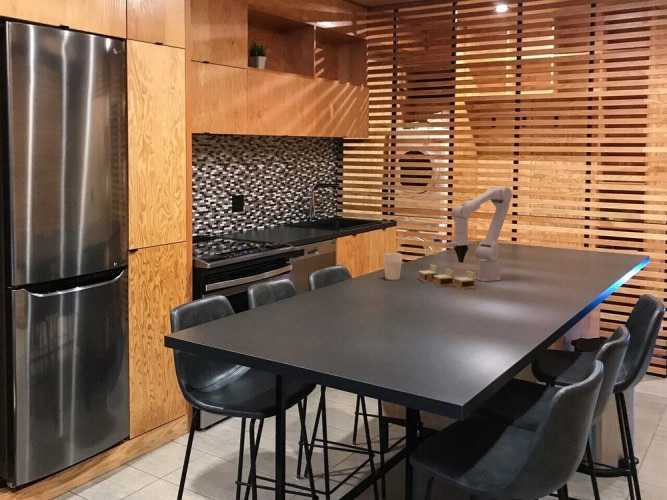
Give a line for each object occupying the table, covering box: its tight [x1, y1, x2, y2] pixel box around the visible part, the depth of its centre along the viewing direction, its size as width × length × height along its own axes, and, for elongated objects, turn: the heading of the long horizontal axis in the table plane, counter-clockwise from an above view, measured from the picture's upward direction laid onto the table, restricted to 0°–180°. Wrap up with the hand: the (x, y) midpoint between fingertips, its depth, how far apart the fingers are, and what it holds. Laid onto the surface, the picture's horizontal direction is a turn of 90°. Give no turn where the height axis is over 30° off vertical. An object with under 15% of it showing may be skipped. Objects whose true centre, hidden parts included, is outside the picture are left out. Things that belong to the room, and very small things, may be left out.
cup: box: [382, 252, 403, 281], centre depth 321 cm, size 9×9×12 cm
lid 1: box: [418, 264, 439, 275], centre depth 315 cm, size 7×7×3 cm
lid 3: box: [454, 270, 476, 282], centre depth 296 cm, size 7×7×3 cm
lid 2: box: [434, 267, 455, 279], centre depth 303 cm, size 7×7×3 cm
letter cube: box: [425, 274, 433, 280], centre depth 315 cm, size 3×3×3 cm
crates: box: [418, 272, 476, 290], centre depth 306 cm, size 15×29×3 cm, turn 15°
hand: (460, 262), depth 304 cm, fingers closed
